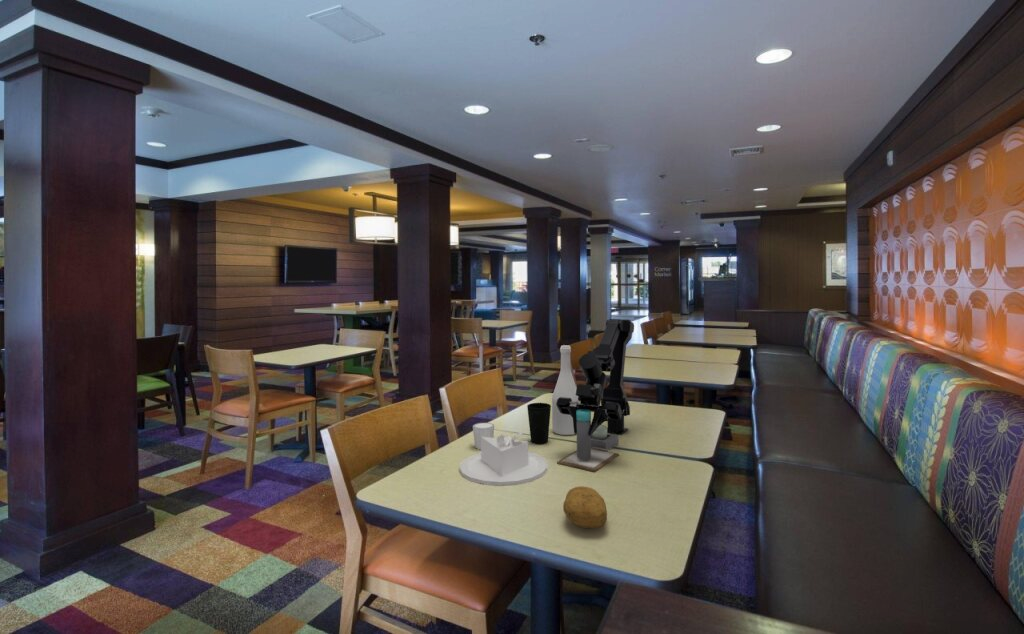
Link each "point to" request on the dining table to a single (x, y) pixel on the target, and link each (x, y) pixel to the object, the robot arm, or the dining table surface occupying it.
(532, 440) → the cup
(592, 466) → the clipboard
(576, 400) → the wine bottle
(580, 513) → the potato
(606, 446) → the button housing
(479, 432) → the shot glass
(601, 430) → the button
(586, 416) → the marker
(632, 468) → the dining table surface
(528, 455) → the dish
